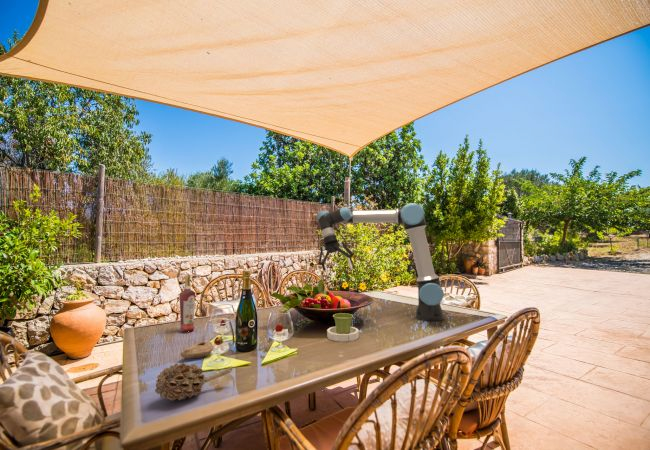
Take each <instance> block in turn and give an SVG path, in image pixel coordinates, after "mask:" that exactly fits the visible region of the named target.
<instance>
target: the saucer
mask: <svg viewBox="0 0 650 450" xmlns="http://www.w3.org/2000/svg"><path fill="white" fill-rule="evenodd" d="M326 336H327V339H328V340H330V341H333V342H339V343H341V342H342V343H347V342H354V341H356V340H358V339H359V337H360V330H359V329H358V328H357V327H354V326H351V328H350V334H337V333H336V325H335V326H331V327H330V326H329V328H327V329H326Z"/></svg>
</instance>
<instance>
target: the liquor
mask: <svg viewBox="0 0 650 450" xmlns="http://www.w3.org/2000/svg"><path fill="white" fill-rule="evenodd" d="M195 304H196V292H195V291H194V290H192V289H191V274H184V290H182V291H181V292H180V293H179V313H180V314H179V317H180V327H179V330H180V331H181V333H183V332H188V331H191V332H193V331H194V329H195V309H196V308H195ZM188 333H189V332H188Z"/></svg>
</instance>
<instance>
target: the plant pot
mask: <svg viewBox="0 0 650 450" xmlns="http://www.w3.org/2000/svg"><path fill="white" fill-rule="evenodd" d="M332 317H333V319H334V323H335V326H336V333H337V334H350V328H351V327H352V321H353V318H354V315H353V314H351V313H348V312H347V313H345V312H344V313H343V312H339V313H335V314H333V315H332Z"/></svg>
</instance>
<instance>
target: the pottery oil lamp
mask: <svg viewBox="0 0 650 450" xmlns="http://www.w3.org/2000/svg"><path fill="white" fill-rule="evenodd" d="M214 349H215V346H214V345H213V342H212V341H205V340H202V341H201V340H200V341H198V342H196V343H194V344H193V345H191V346H189V347H187V348H185V349H183V350H181V352H180V357H182V358H183V359H191V358H195V359H201V358H205V357H206V356H207V355H209V354H210V353H212V351H214ZM205 355H206V356H205ZM204 356H205V357H204Z"/></svg>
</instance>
